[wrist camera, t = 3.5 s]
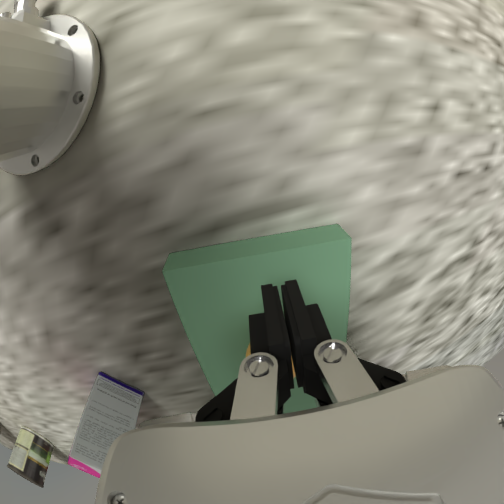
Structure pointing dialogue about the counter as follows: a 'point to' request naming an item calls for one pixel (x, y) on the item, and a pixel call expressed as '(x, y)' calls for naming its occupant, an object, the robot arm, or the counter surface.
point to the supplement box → (104, 422)
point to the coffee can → (31, 456)
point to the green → (256, 294)
